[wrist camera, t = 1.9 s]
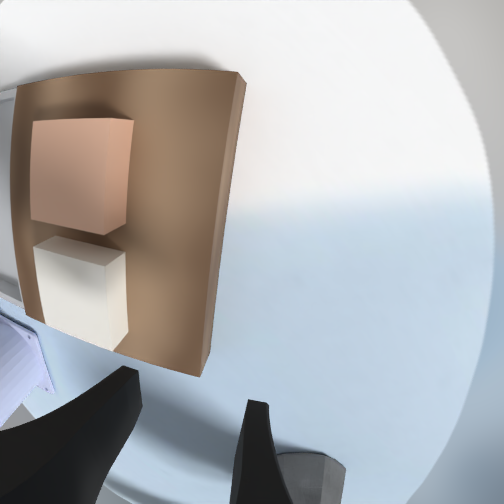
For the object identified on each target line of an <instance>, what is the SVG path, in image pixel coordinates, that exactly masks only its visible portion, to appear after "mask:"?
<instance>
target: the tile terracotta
mask: <svg viewBox="0 0 504 504" xmlns="http://www.w3.org/2000/svg"><path fill="white" fill-rule="evenodd" d="M133 125H134V120H126V119H115V118H83V119H58V120H43V121H33V129H32V141H31V159H30V209H31V219H32V220H36V221H41V222H45V223H50V224H55V225H59V226H64V227H68V228H73V229H78V230H82V231H87V232H92V233H96V234H101V235H105V234H107V233H109V232H111V231H113V230H114V229H116V228H118V227H120V226H122V225H124V224H126V206H127V188H128V174H129V162H130V151H131V142H132V133H133Z"/></svg>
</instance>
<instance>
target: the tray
mask: <svg viewBox="0 0 504 504" xmlns="http://www.w3.org/2000/svg"><path fill="white" fill-rule="evenodd" d="M16 91H17V88H14V89H10V90H6V91H2V92H0V297H1V298H3V299H4V300H6V301H8V302H10V303H12V304H14V305H16V306H19V307H21V308H23V309H25V308H24V303H23V299H22V294H21V289H20V283H19V278H18V272H17V265H16V258H15V251H14V242H13V232H12V221H11V204H10V151H11V135H12V123H13V114H14V105H15V98H16Z"/></svg>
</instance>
